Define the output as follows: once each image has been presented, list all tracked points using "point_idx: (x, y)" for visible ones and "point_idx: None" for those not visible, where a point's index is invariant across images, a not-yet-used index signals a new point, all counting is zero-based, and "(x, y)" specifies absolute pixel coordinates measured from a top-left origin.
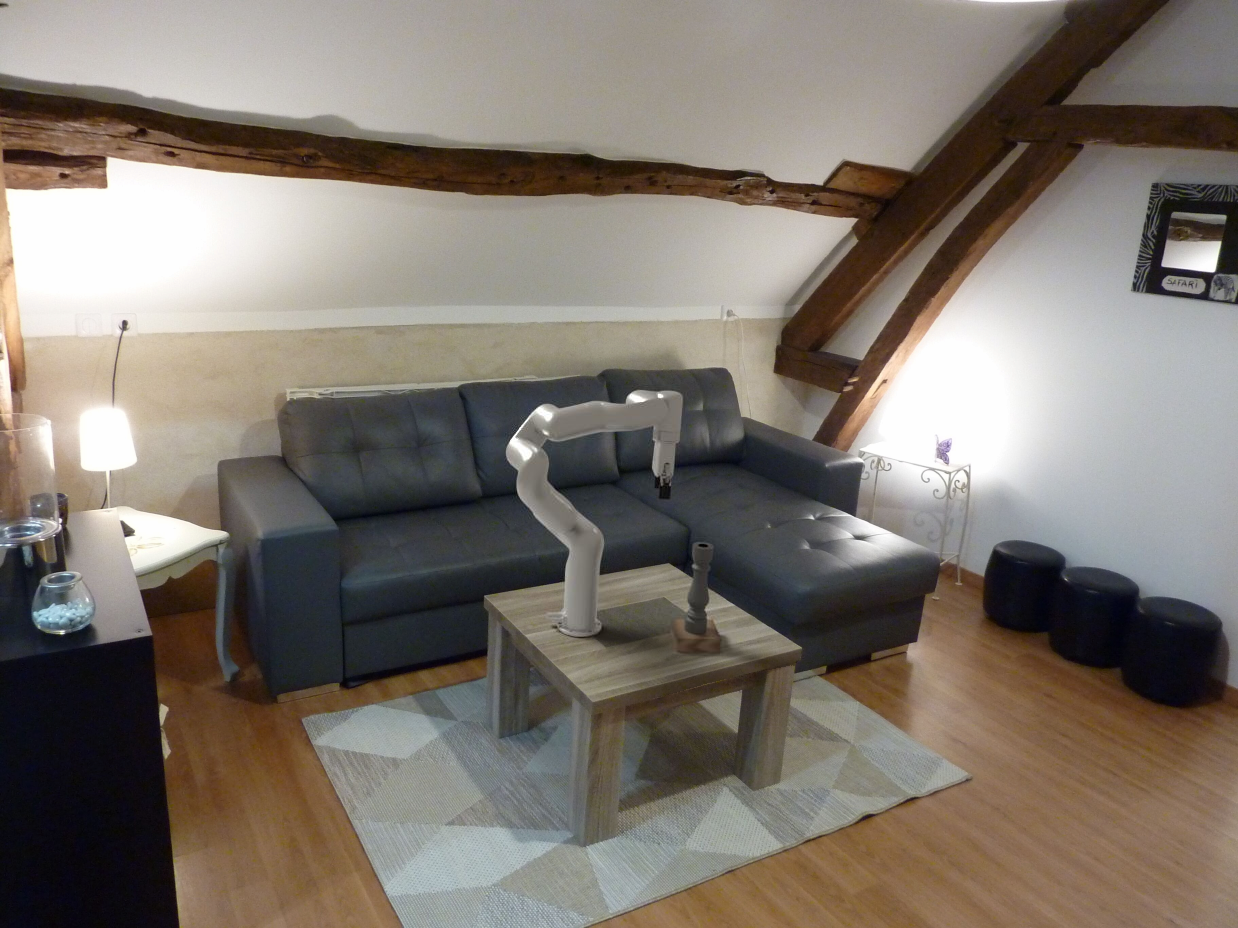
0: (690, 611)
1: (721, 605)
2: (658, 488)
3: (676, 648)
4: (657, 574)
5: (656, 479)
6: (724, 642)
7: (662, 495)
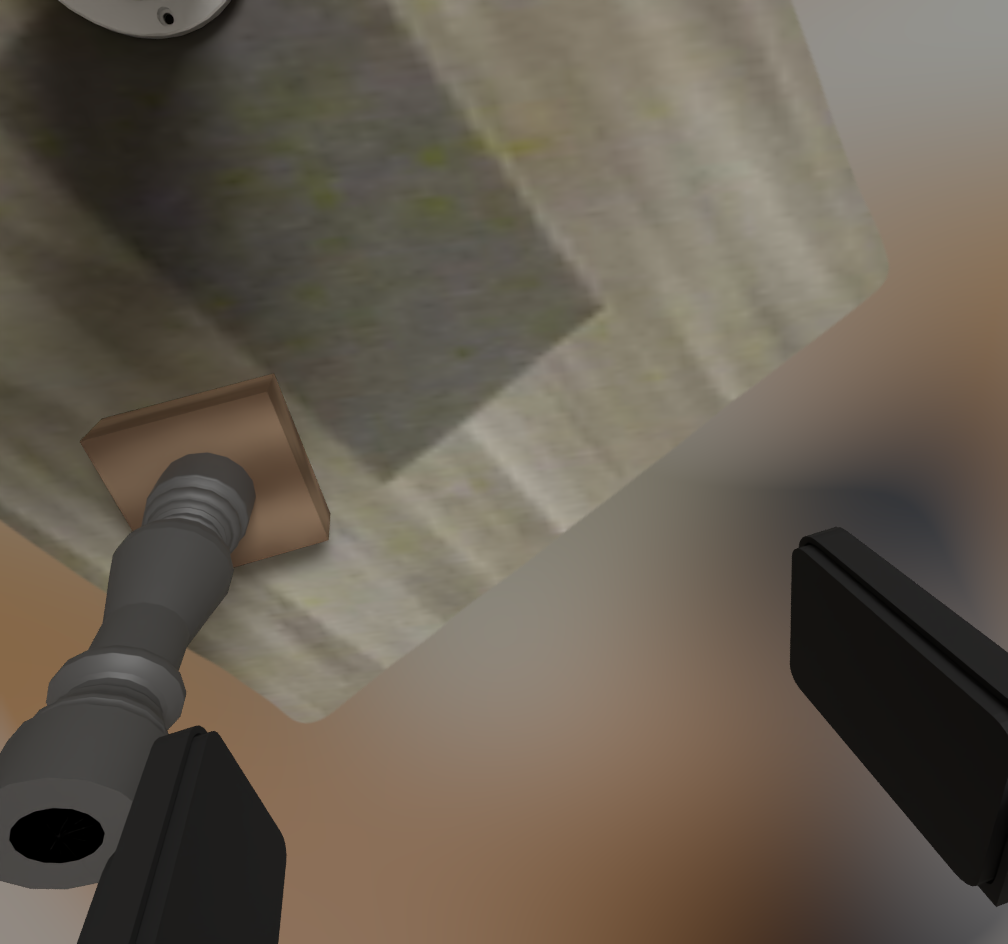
0: (158, 514)
1: (567, 515)
2: (798, 590)
3: (112, 417)
4: (819, 255)
5: (930, 680)
6: (267, 559)
7: (110, 865)
